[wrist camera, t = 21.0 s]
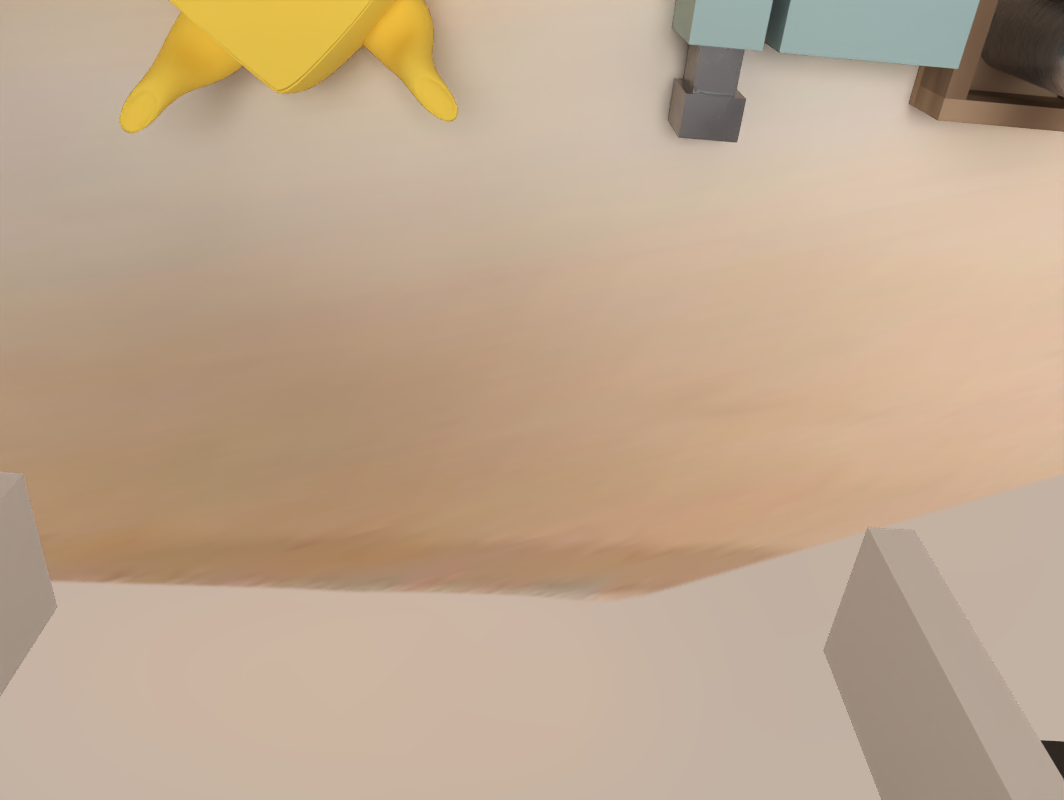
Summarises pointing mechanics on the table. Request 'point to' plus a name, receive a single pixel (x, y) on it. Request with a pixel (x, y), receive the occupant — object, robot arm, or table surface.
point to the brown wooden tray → (985, 89)
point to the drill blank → (1028, 42)
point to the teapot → (288, 49)
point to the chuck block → (834, 28)
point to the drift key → (708, 95)
